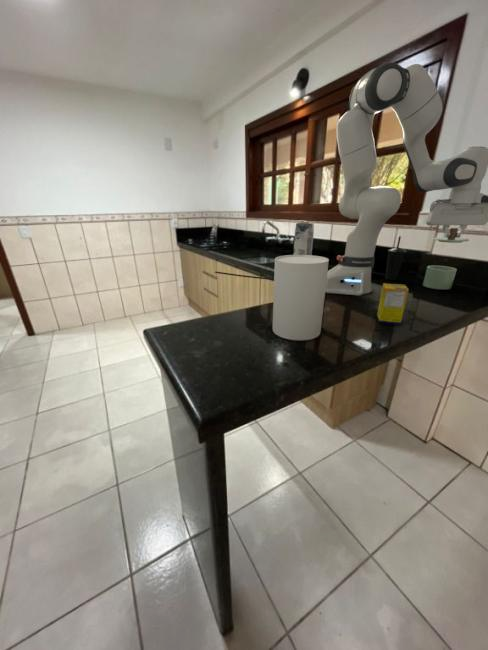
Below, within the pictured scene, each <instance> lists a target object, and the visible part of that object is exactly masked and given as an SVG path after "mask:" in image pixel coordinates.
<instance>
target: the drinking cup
mask: <svg viewBox="0 0 488 650" xmlns="http://www.w3.org/2000/svg"><path fill="white" fill-rule="evenodd" d="M401 238H402V236H401V235H400V236H398V241H397V246H396V247H392V248H390V249H388V250H387V260H386V269H385V276H384V277H385V280H388V281H396V280H398V279H397V278H398V275H399V273H400V270H401V266H402V263H403V261H404V257H405V255H406V253H407V250H405V249H403V248H401V247H400V242H401Z"/></svg>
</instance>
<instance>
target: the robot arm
mask: <svg viewBox="0 0 488 650" xmlns="http://www.w3.org/2000/svg"><path fill="white" fill-rule="evenodd" d="M442 101H443V100H442V98H441V95H440V93H439V90H438V89H437V86H436V84H435V82H434V81H433V79H432V77H431V75H430V74H429V72H428V71H427V70H426V68H425V67H424V66H423V65H422V64H420V63H414V64H411V65H408V66H407V67H403V66H402V65H400V64H399V63H396V62H385V63H382V64H380V65H378V66H376V67H375V68H372V69H370V70H369V71H367V72H366V73H365V74H363V76H361V77H360V78H359V79H358V80H357V81H356V82H355V84H353V86H352V89H351V91H350V95H349V100H348V105H347V108H346V112H345V113H344V114H343V115H342V116H340V118H339V119H338V122H337V123H336V140H337V148H338V155H339V158H340V162H341V168H342V172H343V178H344V185H343V186H344V187H343V192H342V196H341V197H340V199H339V202H338V211H339V213H340V215H342V216H343V217H345V218H348V219H351V220H358V221H357V223H356V226H355V227H354V229H353V230H352V231H350V232H349V233H348V235H347V237H346V242H345V250H344V254H343V255H341V254H338V255H337V256H336V260H337V261H338V264H336V265H335V266H333V267H332V268H331V269H328V272H327V280H326V289H325V294H326V293H327V294H339V295H351V296H362V295H365V294H369V293H371V292H372V291H373V290H372V271H373V270H374V269H373V268H374V265H375V259H376V257H375V253H376V248H377V247H376V246H377V243H378V239H379V236H380V233H381V231H382V229H383V227H384V226H385V224H386V222H388V221H389V219H390V218H392V217H394V215H396V213H397V212H398V211H399V209H400V206H401V203H402V195H401V192H400V191H399V189H397V188H395V187H391V186H386V185H381V186H380V185H379V186H371V179H372V175H373V173H374V172H375V171H376V169H377V168H378V164H379V163H378V157H377V150H376V145H375V138H374V133H373V120H374V117H375V115H376V114H379V113H381V112H382V111H386V110H388V109H390V108H391V109H392V110H393V112H395V115H396V117H397V119H398V122H399V124H400V126H401V128H402V144H403V148H404V151H405V154H406V157H407V159H408V162H409V165H410V168H411V171H412V177H413V185H414V188H415V189H416V190H417V191H418V192H420V193H428V192H432V191H441V190H447V189H450V192H449V196H448V198H444V199H440V198H438V199H435V200H433V201H432V203H431V204H430V206H429V211H428V215H427V217H426V220H425V223H426V225H427V226H442V231H443V237H445V238H449V237H450V234H451V233H449V230H448V229H450V228H451V226H459V228H458V230H457V234H456V237H455V238H462V234H463V233H464V231H466V229H467V227H468V226H485V225H486V224H487V223H488V194H485V193H482V192H481V190H482V183H483V180H484V178H485V176H486V173H487V170H488V147H486V146H469V147H467V148H465V149H464V150H463V151H462V152H460V153H459V154H457V155H455V156H453V157H451V158H447V159H442V160H439V161H436V160H433V159H431V157H430V153H429V151H428V148H427V144H426V136H427V134H429V133H430V131H432V129H434V127H435V126H436V125H437V124H438V122H439V121H440V118H441V116H442V113H443V102H442ZM214 274H219V275H225V276H233V277H240V278H249V279H250V278H251V279H259V280H268V281H269V280H270V281H274V277H264V276H253V275H244V274H235V273H231V272H230V273H229V272H222V271H215V272H214Z"/></svg>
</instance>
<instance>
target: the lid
mask: <svg viewBox="0 0 488 650" xmlns="http://www.w3.org/2000/svg"><path fill="white" fill-rule="evenodd" d="M458 231H459V228H458V227H449V230H448V232H449V233H451V234H450V237H449V238H445V237H441V236H440V237H434V238H433V241H438V242H440V243H449V244H450V243H451V244H456V243H457V244H459V243H460V244H461V243H464V242H469V241H470V238H464V237H463V238H462V237H460V238H455V237H456V234H457V233H458Z"/></svg>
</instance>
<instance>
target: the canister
mask: <svg viewBox="0 0 488 650" xmlns="http://www.w3.org/2000/svg"><path fill="white" fill-rule="evenodd" d="M329 262H330V259H329V258H328V257H325V256H319V255H313V254H312V255H294V254H287V255H279V256H276V257H275V258H274V272H273V274H274V276H273V278H274V280H273V298H272V299H273V300H272V301H273V302H272V303H273V304H272V307H273V308H272V328H271V330H272V332H273V333H274V334H275V335H276V336H277V337H279V338H282V339H286V340H290V341H309V340H313V339H315V338H318V337H319V336H320V335H321V331H322V324H323V323H322V322H323V315H324V314H323V313H324V306H325V305H324V303H325V299H326V298H325V296H326V293H325V289H326V280H327V272H328V271H329Z"/></svg>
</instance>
